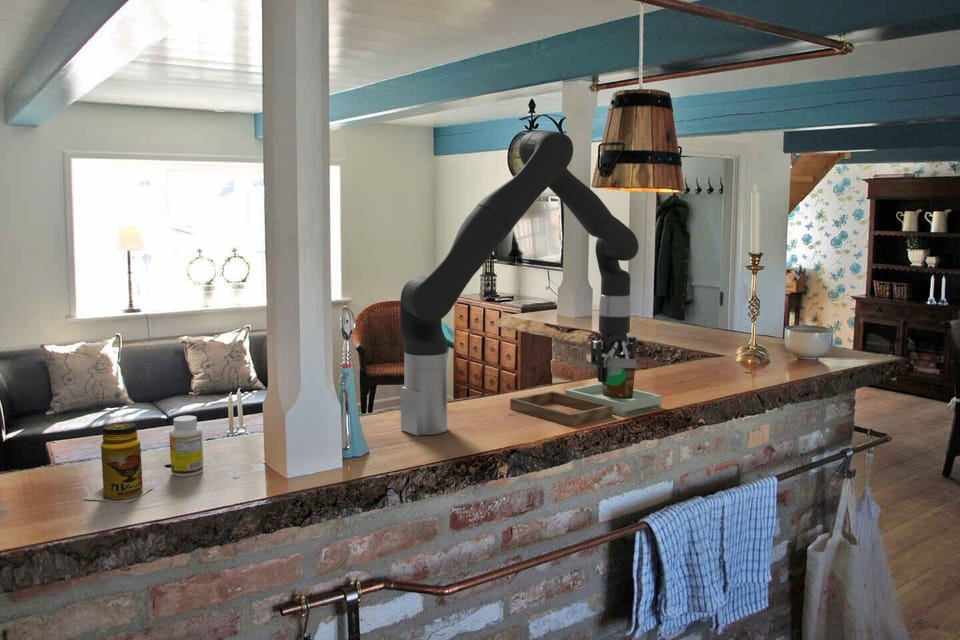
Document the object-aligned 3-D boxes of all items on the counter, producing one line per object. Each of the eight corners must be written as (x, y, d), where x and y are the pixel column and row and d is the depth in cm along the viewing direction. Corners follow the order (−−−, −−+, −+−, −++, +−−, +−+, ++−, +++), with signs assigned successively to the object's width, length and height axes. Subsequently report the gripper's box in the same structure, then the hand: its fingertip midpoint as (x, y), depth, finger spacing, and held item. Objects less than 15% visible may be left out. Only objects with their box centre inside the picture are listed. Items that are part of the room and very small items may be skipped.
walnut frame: (569, 426, 184) (569, 415, 184) (510, 409, 200) (510, 398, 199) (612, 416, 193) (612, 406, 193) (552, 400, 209) (552, 391, 208)
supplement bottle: (177, 468, 154) (175, 414, 152) (207, 468, 154) (205, 414, 152) (166, 477, 148) (163, 421, 147) (197, 478, 148) (195, 422, 147)
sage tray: (622, 416, 193) (623, 403, 193) (564, 401, 208) (565, 389, 208) (661, 407, 202) (661, 395, 202) (602, 393, 217) (603, 382, 216)
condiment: (130, 503, 135) (126, 431, 134) (82, 500, 137) (78, 429, 135) (154, 488, 143) (150, 420, 141) (108, 485, 144) (105, 418, 142)
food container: (588, 391, 209) (589, 352, 208) (610, 389, 211) (611, 350, 210) (613, 402, 198) (614, 360, 196) (635, 400, 200) (637, 359, 199)
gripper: (606, 317, 195) (604, 386, 197) (646, 312, 204) (643, 379, 206) (582, 314, 200) (581, 381, 202) (622, 309, 209) (620, 374, 212)
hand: (612, 380), depth 204 cm, fingers closed on food container, 7 cm apart
